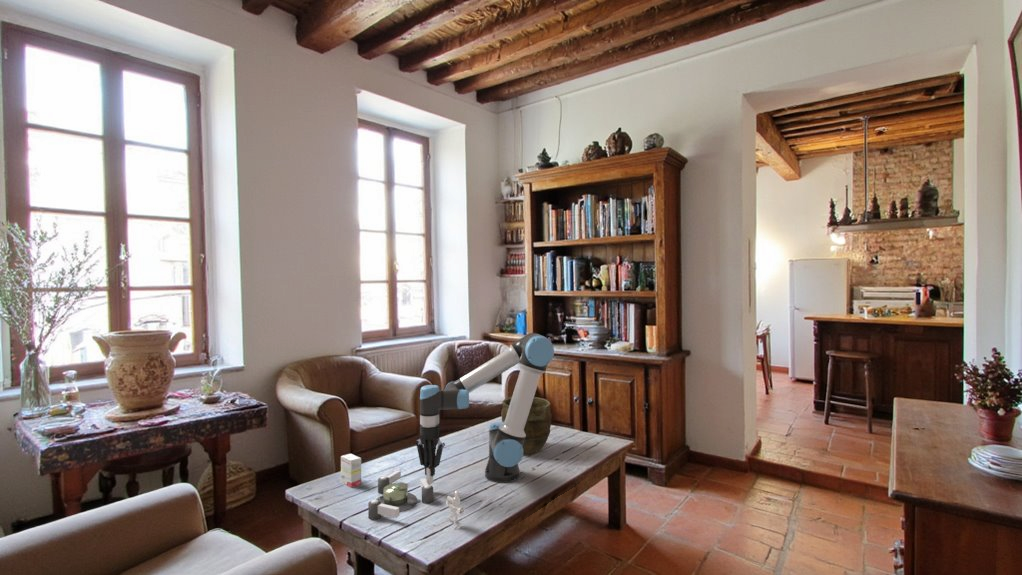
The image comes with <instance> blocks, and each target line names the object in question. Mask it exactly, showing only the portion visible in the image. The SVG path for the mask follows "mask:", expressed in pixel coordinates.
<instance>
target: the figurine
mask: <svg viewBox="0 0 1022 575" xmlns="http://www.w3.org/2000/svg"><path fill="white" fill-rule="evenodd" d="M445 505H447V506H448V509H449V511H450V512H451V513H450V514H448V516H445V519H446V521H447V522H451V518H452V517H453V526H455V527H454V529H453V530H459V529H461V525H460V524H457V521H458V516H459V515H458V513H459V514H460V516H463V515H465V510H466V507H465V506H461V507H459V506H460V505H461V498H460V491H457V490H456V491H455V492H454V496H453V497H452V496H451V495H447V498H446V502H445ZM457 512H458V513H457Z"/></svg>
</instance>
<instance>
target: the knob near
mask: <svg viewBox="0 0 1022 575" xmlns="http://www.w3.org/2000/svg"><path fill="white" fill-rule="evenodd" d="M419 482H420V489H421V503H422V504H426V505H427V504H431V503H433V502H434V486H433V485H431V484H430V485H428V483H427V478H425V477H423V478H420V481H419Z"/></svg>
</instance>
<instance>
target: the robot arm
mask: <svg viewBox="0 0 1022 575" xmlns="http://www.w3.org/2000/svg"><path fill="white" fill-rule="evenodd" d="M554 356H555V348H554V345H553V343H552V341H550V339H549V338H547V337H546V336H544V335H541V334H540V333H536V332H531V333H527V334H525V335H524V336H522V337H520V338H519V339H518V340H516V341H515V342H513V343H511V344H510V345H509V348H508V349H506V350H504V351H503V352H501V353H499V354H498V355H496V356H494V357H493V358H490V360H488V361H486V362H485V363H483V364H481V365H479V366H478V367H476V368H474V369H473V370H471V371H470V372H468V373H466V374H465V375H463V376H461V377H460V378H458V379H457V380H455V381H450V382H448V383H447V384H446V385H445V388H444V390H441V389H440V387H439V386H438V385H437V384H426V385H423V386H421V388H420V390H419V391H420V392H419V393H420V394H419V395H420V396H419V414H420V415H419V424H420V426H419V434H420V437H419V439H417V440H415V441H414V444H415V446H416V448H417V453H418V459H419V464H420V465H421V466H423V467H424V475H425V476H426V481H427V483H428V485H430V486H431V485H432V484H433V483H434V476H435V475H436V468H437V467H439V466H440V464H441V459H442V453H443V449H444V447H445V446H446V444H445V442H441V440H440V437H439V435H440V425H439V424H440V410H462V409H463V410H464V409H468V408H469V405H470V393H471V392H473V391H474V390H475V391H476V390H477V389H479V388H480V387H481V386H483V385H485V384H486V383H488V382H490V381H491V380H493V379H494V378H496V377H498V376H500V375H501V374H503V373H505V372H507V371H508V370H509V369H511V368H512V367H515V366H516V365H519V367H520V371H519V374H518V376H517V377H518V378H517V380H516V383H515V386H514V389H513V393H512V396H511V397H512V399H511V402H510V405H509V409H508V412H507V415H506V418H505V422H502V421H496V422H491V423H490V424H489V426H488V433H489V434H488V460H487V464H486V466H485V470H484V477H485V479H486V480H489V481H491V482H494V483H509V482H513V481H516V480H518V479H519V478H520V472H521V470H520V467H519V463H520V462H521V461H522V459H523V456H524V455H523V444H524V440H525V437H526V434H525V432H524V428H525V424H526V421H527V418H528V415H529V411H530V408H531V405H532V402H533V398H534V397H535V395H536V391H537V389H538V385H539V382H540V379H541V375H543V374H544V373H546V371H547V368H548V365H549V364H550V363H551V362H552V361H553V358H554Z"/></svg>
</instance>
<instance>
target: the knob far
mask: <svg viewBox="0 0 1022 575" xmlns="http://www.w3.org/2000/svg"><path fill="white" fill-rule="evenodd" d="M401 471H402V470H395V471H393V472H391V473H390V474H388V475H387V476H381V477H378V479H377V493H378V494H380V495H383V489H384V487H385V486H387V485H390V484H394V483H396V481H399V480H400V479H401V478H402V475H401Z"/></svg>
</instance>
